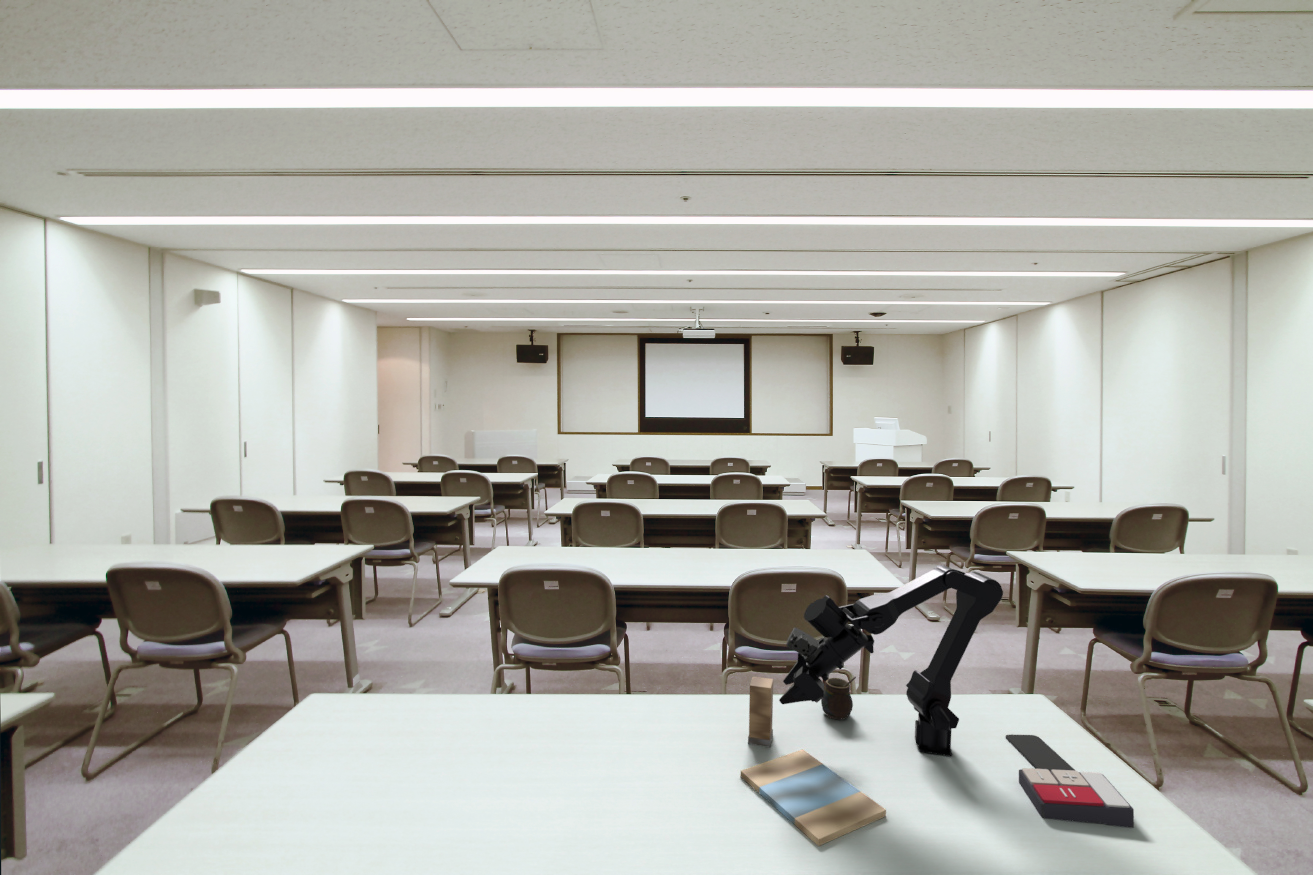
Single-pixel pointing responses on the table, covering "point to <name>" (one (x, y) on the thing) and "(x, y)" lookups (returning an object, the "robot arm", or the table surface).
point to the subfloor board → (812, 796)
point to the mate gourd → (837, 698)
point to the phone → (1038, 752)
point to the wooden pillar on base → (761, 712)
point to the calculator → (1076, 797)
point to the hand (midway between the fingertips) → (782, 692)
